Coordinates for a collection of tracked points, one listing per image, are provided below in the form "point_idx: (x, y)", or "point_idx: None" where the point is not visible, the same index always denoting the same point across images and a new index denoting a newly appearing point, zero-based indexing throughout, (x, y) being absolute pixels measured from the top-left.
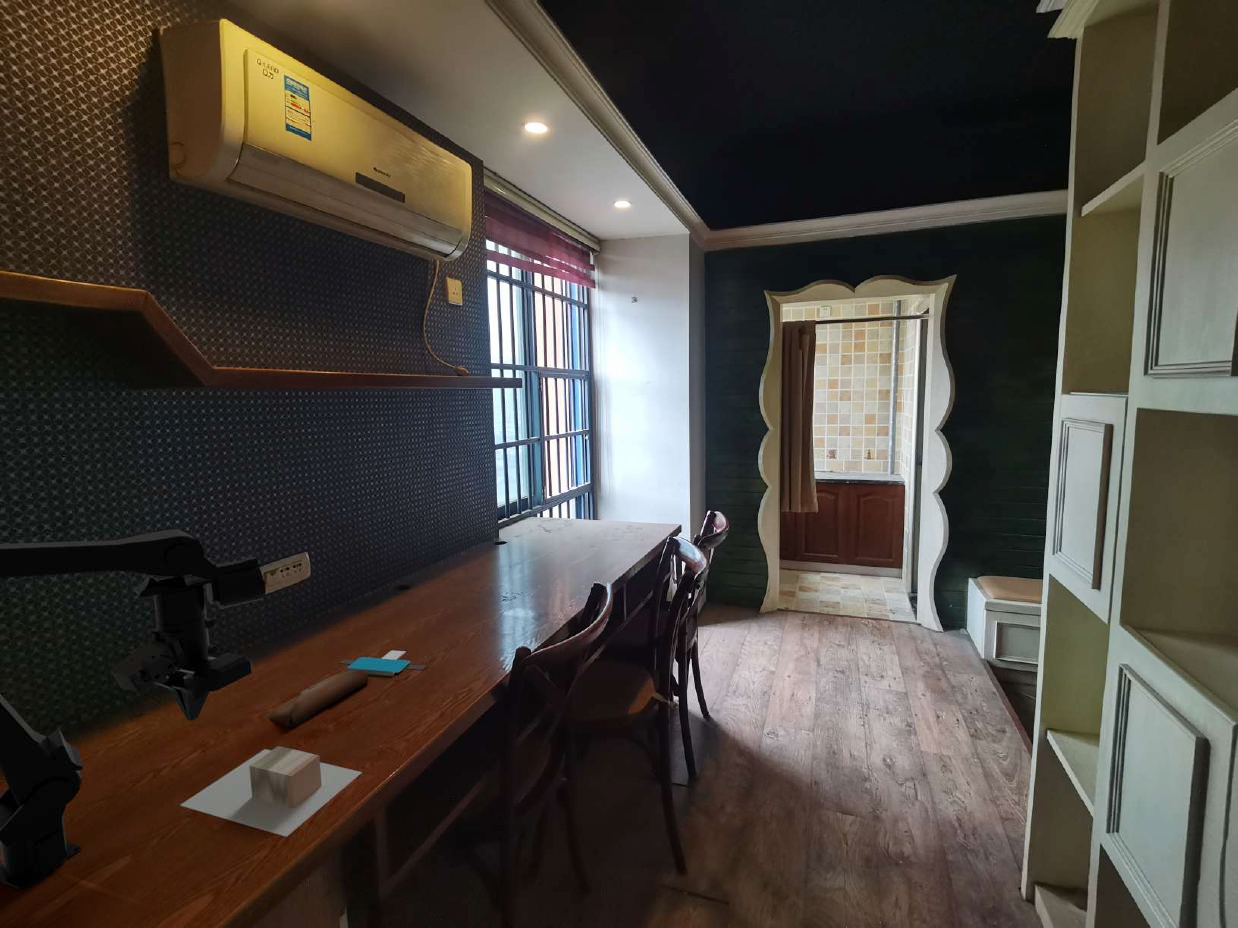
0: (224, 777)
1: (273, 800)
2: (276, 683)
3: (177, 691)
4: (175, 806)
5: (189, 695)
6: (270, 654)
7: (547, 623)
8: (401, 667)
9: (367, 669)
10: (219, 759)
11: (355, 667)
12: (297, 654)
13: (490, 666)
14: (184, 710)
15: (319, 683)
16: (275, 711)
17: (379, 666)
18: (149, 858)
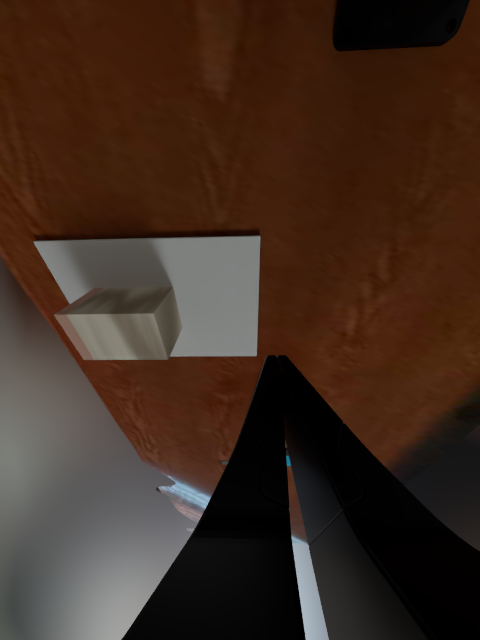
0: (254, 303)
1: (131, 289)
2: (357, 429)
3: (340, 504)
4: (270, 234)
5: (217, 486)
6: (407, 455)
7: (181, 502)
8: None
9: None
10: (303, 328)
11: (286, 456)
12: None
13: (167, 470)
14: (291, 382)
15: (285, 441)
16: None
17: None
18: (176, 107)
